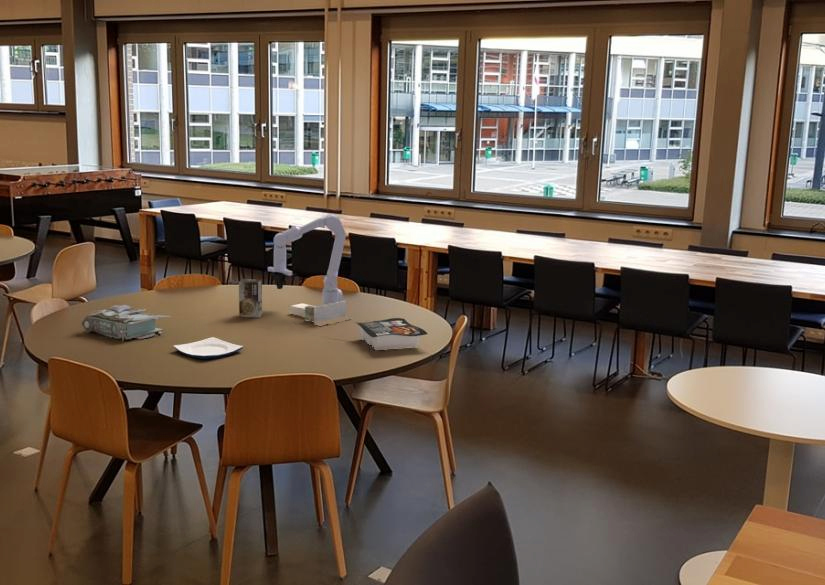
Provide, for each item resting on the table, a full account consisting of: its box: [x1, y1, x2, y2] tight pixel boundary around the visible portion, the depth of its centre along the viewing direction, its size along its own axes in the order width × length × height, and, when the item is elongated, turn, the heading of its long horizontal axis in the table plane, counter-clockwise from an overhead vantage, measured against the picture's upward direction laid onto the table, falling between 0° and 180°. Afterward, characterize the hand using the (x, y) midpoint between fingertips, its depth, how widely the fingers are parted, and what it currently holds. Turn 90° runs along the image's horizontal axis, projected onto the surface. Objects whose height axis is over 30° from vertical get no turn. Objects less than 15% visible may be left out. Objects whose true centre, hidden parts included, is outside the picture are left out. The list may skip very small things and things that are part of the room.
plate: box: [172, 336, 244, 360], centre depth 316 cm, size 20×20×3 cm
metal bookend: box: [313, 300, 347, 324], centre depth 368 cm, size 19×4×8 cm, turn 141°
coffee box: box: [238, 278, 263, 318], centre depth 373 cm, size 9×6×16 cm
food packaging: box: [354, 317, 429, 351], centre depth 337 cm, size 25×8×23 cm
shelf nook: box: [304, 303, 331, 321], centre depth 372 cm, size 14×8×6 cm, turn 141°
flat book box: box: [288, 303, 317, 316], centre depth 380 cm, size 8×12×4 cm, turn 51°
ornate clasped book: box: [81, 304, 172, 342], centre depth 338 cm, size 23×10×30 cm
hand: (279, 288), depth 389 cm, fingers closed
